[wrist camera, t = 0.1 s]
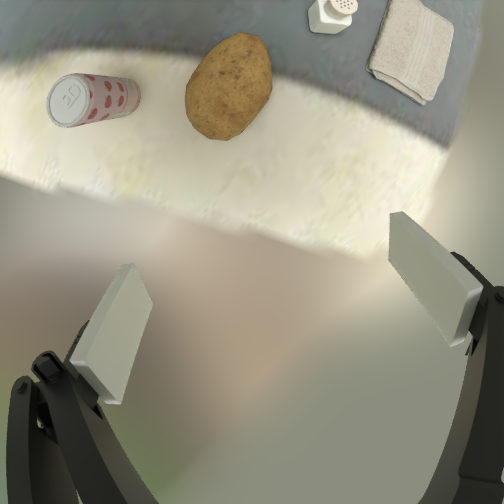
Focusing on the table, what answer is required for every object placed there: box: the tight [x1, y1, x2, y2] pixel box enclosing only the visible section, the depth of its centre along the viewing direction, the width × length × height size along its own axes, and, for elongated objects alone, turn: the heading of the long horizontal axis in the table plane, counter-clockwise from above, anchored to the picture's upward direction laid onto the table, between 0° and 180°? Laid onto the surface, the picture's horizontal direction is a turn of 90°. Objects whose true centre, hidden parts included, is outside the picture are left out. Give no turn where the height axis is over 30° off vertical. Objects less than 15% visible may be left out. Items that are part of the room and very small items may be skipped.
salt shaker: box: [308, 0, 358, 34], centre depth 25 cm, size 4×4×10 cm
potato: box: [185, 32, 272, 141], centre depth 30 cm, size 10×14×8 cm
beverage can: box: [47, 73, 140, 128], centre depth 27 cm, size 6×6×15 cm
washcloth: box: [365, 0, 454, 106], centre depth 29 cm, size 12×18×3 cm, turn 163°
